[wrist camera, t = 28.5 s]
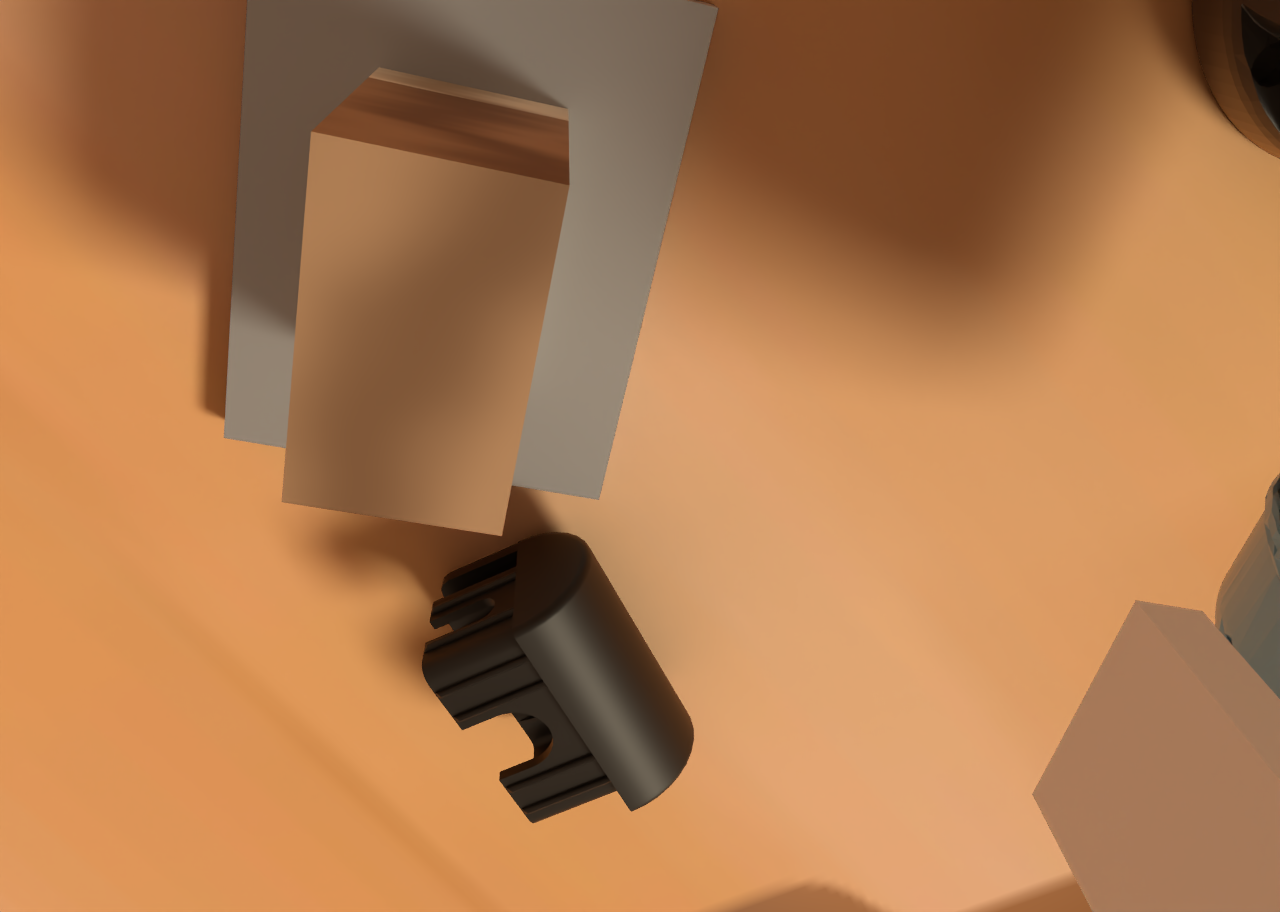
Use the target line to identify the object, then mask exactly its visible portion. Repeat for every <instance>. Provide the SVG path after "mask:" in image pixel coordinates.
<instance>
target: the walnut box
mask: <svg viewBox="0 0 1280 912" xmlns="http://www.w3.org/2000/svg"><path fill="white" fill-rule="evenodd" d="M569 186H570V177H569V118H568V109H566V108H561V107H557V106H552V105H548V104H543V103H539V102H534V101H530V100H525V99H521V98H516V97H512V96H507V95H502V94H498V93H493V92H489V91H484V90H480V89H475V88H471V87H466V86H462V85H457V84H453V83H448V82H444V81H439V80H435V79H430V78H425V77H421V76H416V75H412V74H407V73H403V72H398V71H394V70H389V69H385V68H380V67H379V68H378V69H377V70H376V71H375V72H373V73H372V74H371V75H370V76H369V77H368V78H367V79H366V80H365V81H364V82H363V83H362V84H361V85H360V86H359V87H358V88H357V89H355V90H354V91H353V92H352V93H351V94H350V95H349V96H348V97H347V98H346V99H345V100H344V101H343V102H342V103H341V104H340V105H339V106H338V107H336V108H335V109H334V110H333V111H332V112H331V113H330V114H329V115H328V116H327V117H326V118H325V119H324V120H323V121H322V122H321V123H320V124H318V125H317V126H316V127H315V128H314V129H313V130H312V131H311V139H310V152H309V165H308V177H307V190H306V202H305V215H304V228H303V240H302V253H301V265H300V278H299V291H298V303H297V316H296V328H295V341H294V354H293V366H292V379H291V391H290V404H289V417H288V429H287V442H286V454H285V467H284V480H283V492H282V502H284V503H290V504H297V505H303V506H310V507H316V508H323V509H329V510H336V511H342V512H349V513H355V514H362V515H368V516H375V517H381V518H388V519H394V520H401V521H407V522H414V523H420V524H427V525H433V526H440V527H446V528H453V529H459V530H466V531H472V532H479V533H485V534H492V535H498V536H502V533H503V528H504V522H505V517H506V512H507V507H508V502H509V497H510V491H511V486H512V481H513V476H514V471H515V465H516V460H517V455H518V450H519V445H520V440H521V434H522V429H523V424H524V419H525V414H526V409H527V403H528V398H529V393H530V388H531V383H532V378H533V372H534V367H535V362H536V357H537V352H538V347H539V341H540V336H541V331H542V326H543V321H544V316H545V310H546V305H547V300H548V295H549V290H550V285H551V279H552V274H553V269H554V264H555V259H556V253H557V248H558V243H559V238H560V233H561V228H562V222H563V217H564V212H565V207H566V202H567V197H568V191H569Z"/></svg>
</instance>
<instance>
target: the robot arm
mask: <svg viewBox="0 0 1280 912" xmlns="http://www.w3.org/2000/svg"><path fill="white" fill-rule="evenodd" d="M1192 15H1193V27H1194V34H1195V41H1196V47H1197V51H1198V55H1199V59H1200V63H1201V66H1202V69H1203V72H1204V75H1205V78H1206V80H1207V82H1208V84H1209V87H1210V89H1211V91H1212V93H1213V95H1214V97H1215V99H1216V100H1217V102H1218V104H1219V105H1220V107H1221V108H1222V110H1223V111H1224V113H1225V114H1226V116H1227V117H1228V118H1229V119H1230V121H1231V122H1232V123H1233V124H1234V125H1235V126H1236V128H1237V129H1238V130H1240V131H1241V132H1242V133H1243V134H1244V135H1245V136H1246V137H1247V138H1248V139H1249V140H1251V141H1252V142H1253V143H1254V144H1256V145H1257V146H1258V147H1260V148H1262V149H1263V150H1265V151H1266V152H1268V153H1269V154H1271V155H1273V156H1275V157H1277V158H1279V159H1280V0H1192ZM1032 795H1033V796H1034V798H1035V800H1036V802H1037V804H1038V806H1039V808H1040V810H1041V812H1042V814H1043V816H1044V818H1045V820H1046V822H1047V824H1048V826H1049V828H1050V830H1051V832H1052V834H1053V836H1054V837H1055V839H1056V841H1057V843H1058V845H1059V847H1060V849H1061V851H1062V853H1063V855H1064V857H1065V859H1066V861H1067V863H1068V865H1069V867H1070V869H1071V871H1072V873H1073V875H1074V876H1075V878H1076V880H1077V882H1078V884H1079V886H1080V888H1081V890H1082V892H1083V894H1084V896H1085V898H1086V900H1087V902H1088V904H1089V906H1090V908H1091V910H1092V911H1093V912H1280V474H1279V475H1278V476H1277V477H1276V478H1275V479H1274V480H1273V482H1272V484H1271V485H1270V487H1269V490H1268V492H1267V495H1266V499H1265V511H1264V512H1263V514H1262V516H1261V518H1260V519H1259V521H1258V523H1257V524H1256V526H1255V528H1254V529H1253V531H1252V533H1251V534H1250V536H1249V538H1248V539H1247V541H1246V543H1245V544H1244V546H1243V548H1242V549H1241V551H1240V553H1239V554H1238V556H1237V558H1236V559H1235V561H1234V563H1233V564H1232V566H1231V568H1230V569H1229V571H1228V573H1227V574H1226V576H1225V578H1224V580H1223V582H1222V585H1221V587H1220V590H1219V594H1218V598H1217V602H1216V611H1215V625H1214V624H1213V623H1212V622H1211V620H1210V619H1209V618H1208V617H1207V616H1206V615H1205V614H1204V613H1203V611H1198V610H1192V609H1186V608H1180V607H1174V606H1167V605H1161V604H1155V603H1149V602H1143V601H1137V600H1136V601H1135V603H1134V605H1133V607H1132V608H1131V610H1130V612H1129V614H1128V616H1127V618H1126V620H1125V622H1124V623H1123V625H1122V627H1121V629H1120V631H1119V633H1118V635H1117V636H1116V638H1115V640H1114V642H1113V644H1112V646H1111V648H1110V650H1109V651H1108V653H1107V655H1106V657H1105V659H1104V661H1103V663H1102V665H1101V666H1100V668H1099V670H1098V672H1097V674H1096V676H1095V678H1094V680H1093V681H1092V683H1091V685H1090V687H1089V689H1088V691H1087V693H1086V695H1085V696H1084V698H1083V700H1082V702H1081V704H1080V706H1079V708H1078V710H1077V711H1076V713H1075V715H1074V717H1073V719H1072V721H1071V723H1070V725H1069V726H1068V728H1067V730H1066V732H1065V734H1064V736H1063V738H1062V740H1061V741H1060V743H1059V745H1058V747H1057V749H1056V751H1055V753H1054V755H1053V756H1052V758H1051V760H1050V762H1049V764H1048V766H1047V768H1046V769H1045V771H1044V773H1043V775H1042V777H1041V779H1040V781H1039V783H1038V784H1037V786H1036V788H1035V790H1034V792H1033V794H1032Z"/></svg>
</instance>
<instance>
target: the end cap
mask: <svg viewBox="0 0 1280 912" xmlns="http://www.w3.org/2000/svg"><path fill="white" fill-rule="evenodd" d="M442 593H443V596H444V598H442V599H439V600H437V601H435V602H434V603H433V606H432V612H431V617H430V623H431V625H432V626H433V627H434V629H437V628H439V627H442V626H444V625H446V624H450V626H451V627H452V629H453V630H454V631H452V632H450V633H448V634H445V635H443V636H441V637H438V638H436V639H434V640H431V641H429V642H427V643H426V644H425V650H424V655H423V660H422V670H423V674H424V677H425V679H426V682H427V683H428V685H429V686H430V688H431V689H432V690H433V692H434V693H435V694H436V696H437V697H438V698H439V700H440V701H441V703H442V704H443V705H444V707H445V708H446V709H447V711H448V712H449V713H450V715H451V716H452V717H453V719H454V720H455V721H456V723H457V724H458V725H459V727H460V728H461V729H462V730H464V729H466V728H469V727H471V726H474V725H476V724H479V723H481V722H483V721H486V720H488V719H491V718H493V717H496V716H499V715H502V714H507V713H512V714H513V715H514V717H515V718H516V720H517V721H518V722H519V724H520V725H521V727H522V728H523V730H524V731H525V732H526V734H527V735H528V737H529V738H530V739H531V741H532V743H533V746H534V758H533V759H531V760H528V761H526V762H523V763H521V764H518V765H516V766H513V767H511V768H508V769H506V770H503V771H501V772H500V779H499V780H500V782H501V783H502V784H503V786H504V787H505V788H506V790H507V791H508V793H509V794H510V795H511V797H512V798H513V799H514V801H515V802H516V803H517V805H518V806H519V807H520V809H521V810H522V811H523V813H524V814H525V815H526V817H527V818H528V819H529V821H530V822H532V823H535V822H538V821H540V820H543V819H546V818H548V817H551V816H553V815H556V814H558V813H561V812H564V811H566V810H569V809H571V808H574V807H576V806H579V805H581V804H584V803H587V802H589V801H592V800H594V799H597V798H599V797H602V796H605V795H607V794H610V793H612V792H615V791H617V792H618V793H619V794H620V796H621V797H622V799H623V800H624V802H625V803H626V805H627V806H628V808H629V809H630V811H634V810H636V809H638V808H640V807H642V806H644V805H646V804H648V803H649V802H651V801H652V800H654V799H655V798H657V797H658V796H659V795H661V794H662V793H663V792H664V791H665V790H666V789H667V788H669V787H670V785H671V784H672V783H673V782H674V781H675V780H676V778H677V777H678V776H679V775H680V773H681V772H682V770H683V768H684V767H685V765H686V764H687V761H688V759H689V756H690V754H691V751H692V746H693V741H694V728H693V725H692V722H691V718H690V716H689V714H688V713H687V711H686V709H685V708H684V706H683V704H682V703H681V701H680V699H679V698H678V696H677V694H676V693H675V691H674V689H673V687H672V686H671V684H670V682H669V681H668V679H667V677H666V676H665V674H664V672H663V671H662V669H661V667H660V666H659V664H658V662H657V660H656V659H655V657H654V655H653V654H652V652H651V650H650V649H649V647H648V645H647V644H646V642H645V640H644V639H643V637H642V635H641V633H640V632H639V630H638V628H637V627H636V625H635V623H634V622H633V620H632V618H631V617H630V615H629V613H628V612H627V610H626V608H625V607H624V605H623V603H622V601H621V600H620V598H619V596H618V595H617V593H616V591H615V590H614V588H613V586H612V585H611V583H610V581H609V580H608V578H607V576H606V574H605V573H604V571H603V569H602V568H601V566H600V564H599V563H598V561H597V559H596V558H595V556H594V554H593V553H592V551H591V549H590V548H589V546H588V545H587V543H586V542H585V541H584V540H582V539H581V538H579V537H578V536H576V535H572V534H569V533H558V532H554V533H545V534H541V535H537V536H533V537H530V538H527V539H524V540H522V541H519V542H518V543H517V544H515V545H513V546H510V547H508V548H506V549H504V550H501V551H499V552H497V553H494V554H492V555H490V556H487V557H485V558H483V559H481V560H478V561H476V562H474V563H471V564H469V565H467V566H465V567H462V568H460V569H458V570H455V571H453V572H451V573H450V574H448V575H447V576H446V577H445V578H444V581H443V584H442Z"/></svg>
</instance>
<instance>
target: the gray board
mask: <svg viewBox="0 0 1280 912" xmlns="http://www.w3.org/2000/svg"><path fill="white" fill-rule="evenodd" d="M717 12H718V7H716V6H715V5H714V4H710V3H706V2H701V1H697V0H247V13H246V32H245V51H244V70H243V88H242V107H241V126H240V145H239V164H238V183H237V201H236V220H235V239H234V258H233V277H232V295H231V314H230V333H229V352H228V371H227V389H226V408H225V427H224V438H228V439H234V440H240V441H246V442H252V443H258V444H264V445H270V446H276V447H282V448H286V442H287V429H288V417H289V404H290V391H291V379H292V366H293V354H294V341H295V328H296V316H297V303H298V291H299V278H300V265H301V253H302V240H303V228H304V215H305V202H306V190H307V177H308V165H309V152H310V139H311V131H312V130H313V129H314V128H315V127H316V126H317V125H318V124H320V123H321V122H322V121H323V120H324V119H325V118H326V117H327V116H328V115H329V114H330V113H331V112H332V111H333V110H334V109H335V108H336V107H338V106H339V105H340V104H341V103H342V102H343V101H344V100H345V99H346V98H347V97H348V96H349V95H350V94H351V93H352V92H353V91H354V90H355V89H357V88H358V87H359V86H360V85H361V84H362V83H363V82H364V81H365V80H366V79H367V78H368V77H369V76H370V75H371V74H372V73H373V72H375V71H376V70H377V69H378V68H379V67H380V68H385V69H389V70H394V71H398V72H403V73H407V74H412V75H416V76H421V77H425V78H430V79H435V80H439V81H444V82H448V83H453V84H457V85H462V86H466V87H471V88H475V89H480V90H484V91H489V92H493V93H498V94H502V95H507V96H512V97H516V98H521V99H525V100H530V101H534V102H539V103H543V104H548V105H552V106H557V107H561V108H566V109H568V118H569V177H570V186H569V191H568V197H567V202H566V207H565V212H564V217H563V222H562V228H561V233H560V238H559V243H558V248H557V253H556V259H555V264H554V269H553V274H552V279H551V285H550V290H549V295H548V300H547V305H546V310H545V316H544V321H543V326H542V331H541V336H540V341H539V347H538V352H537V357H536V362H535V367H534V372H533V378H532V383H531V388H530V393H529V398H528V403H527V409H526V414H525V419H524V424H523V429H522V434H521V440H520V445H519V450H518V455H517V460H516V465H515V471H514V476H513V481H512V486H518V487H525V488H531V489H537V490H543V491H549V492H555V493H561V494H567V495H573V496H579V497H585V498H591V499H597V500H599V497H600V493H601V489H602V485H603V481H604V477H605V473H606V469H607V465H608V460H609V456H610V452H611V448H612V444H613V440H614V436H615V432H616V428H617V423H618V419H619V415H620V411H621V407H622V403H623V399H624V395H625V391H626V386H627V382H628V378H629V374H630V370H631V366H632V362H633V358H634V354H635V349H636V345H637V341H638V337H639V333H640V329H641V325H642V321H643V316H644V312H645V308H646V304H647V300H648V296H649V292H650V288H651V284H652V279H653V275H654V271H655V267H656V263H657V259H658V255H659V251H660V247H661V242H662V238H663V234H664V230H665V226H666V222H667V218H668V214H669V210H670V205H671V201H672V197H673V193H674V189H675V185H676V181H677V177H678V173H679V168H680V164H681V160H682V156H683V152H684V148H685V144H686V140H687V135H688V131H689V127H690V123H691V119H692V115H693V111H694V107H695V103H696V98H697V94H698V90H699V86H700V82H701V78H702V74H703V70H704V66H705V61H706V57H707V53H708V49H709V45H710V41H711V37H712V33H713V29H714V24H715V20H716V16H717Z"/></svg>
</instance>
